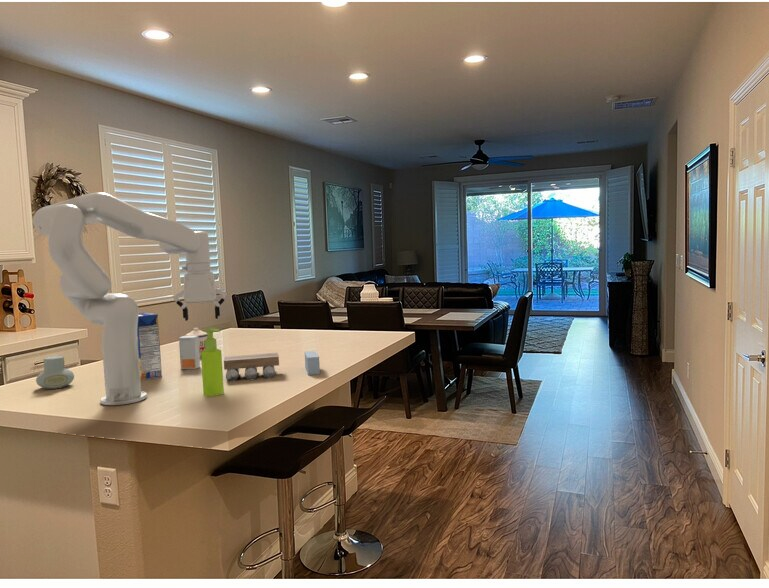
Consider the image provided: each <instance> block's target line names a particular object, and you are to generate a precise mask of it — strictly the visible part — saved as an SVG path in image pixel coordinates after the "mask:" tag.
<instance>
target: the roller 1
mask: <svg viewBox="0 0 769 588" xmlns="http://www.w3.org/2000/svg"><path fill="white" fill-rule="evenodd" d="M239 374H240V369H228V370H226V373H225V379H226V380H227V381H228V382H230V381H231V382H235V381H237V380H238V378H239Z"/></svg>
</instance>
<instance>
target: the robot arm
mask: <svg viewBox="0 0 769 588" xmlns="http://www.w3.org/2000/svg"><path fill="white" fill-rule="evenodd" d="M95 223H96V224H97V223H99V224H102V225H104V226H106V227H109V228H111V229H114V230H116V231H118V232H121V233H122V234H125V235H126V236H129V237H132V238H136V239H140V240H149V241H155V242H158V246H159V248H160V249H161V251H163V252H164V253H165V254H169V255H182V254H183V255H185V261H186V264H185V265H181V269H182V270H183V271H186V273H184V276H183V290H182V291H180V292H178V293H176V294H174V295H173V296H172V299H173V300H174V301H175V303H176V305H178V306H179V307H180V308H181V309H182V318H183V319H184V321H188V320H189V309H188V305H189V304H196V303H199V304H200V303H212V304H214V317H215V319H216V320H217V319H219V317H220V316H221V312H220V311H221V309H220V306H221V305H222V304H223V303H224V302H225V300H226V298H227V297H228V293H227V292H226V291H224V290H221V289H218V288H216V281H215V276H214V272H213V271H211V257H210V256H211V255H210V242H209V241H210V240H209V239H210V238H209V233H208V232H206V231H204V230H203V231H201V230H197V231H196V230H195V231H194V229H192V228H190V227H187V225H184V224H182V223H180V222H177V221H175V220H172V219H170V218H166V217H163V216H160V215H156V214H154V213H151V212H148V211H144V210H142V209H140V208H138V207H135V206H134V205H132V204H129V203H127V202H126V201H123V200H121V199H119V198H117V197H115V196H113V195H111V194H109V193H106V192H99V191H98V192H92V193H87V194H82V195H78V196H75V197H72V198H70V199H67V200H64V201H60V202H59V201H58V202H57V203H56V202H55V203H53V204H50V205H49V204H48V205H46V206H43V207H41V208H39V209H37V210H36V212H35V213H34V215H33V217H32V224H33V227H34V228H35V230H36V231H37V233H39V234H40V235H43V237H44V236H45V237H47V238H48V241H47V242H48V247H47V248H48V252H49V256H50V258H51V260H52V261H53V263H54V265H56V267H57V268H58V269H59V270H60V272H61V274H60V276H59V286H60V290H61V292H62V294H63V295H64V296H65V298H67V299H68V300H69V302H70V303H71V304H72V305H73V306H74V307H75V308H76V310H78V311H79V312H80V313H81V314H82V316H84V318H86V319H87V320H88V321H89V322H91V323H93V324H95V325H98V326H103V331H102V335H101V350H102V364H103V374H104V376H103V377H104V386H105V387H104V388H105V396H102V397H101V398H100V401H99V402H100V404H101V405H104V406H121V405H128V404H135V403H137V402H141V401H143V400H145V399H146V398H148V393H147V392H146V391H144V390H142V385H141V379H140V368H139V354H138V341H137V325H138V317H139V313H140V311H139V305H138V303H137V302H136V301H135V299H134V298H133V297H131V296H129V295H128V294H124V293H110V291H111V289H112V281H111V277H110V276H109V274H107V272H106V271H105V269H104V268H103V267H102V266H101V265H100V264H99V263H98V262H97V260H95V258H94V257H93V256H92V255H91V254H90V253H89V251H88V250H87V249H86V246H85V245H84V241H83V232H84V229H85V226H87V225H91V224H95ZM217 294H219V295H220V296H221V298H220V300H217ZM182 296H183V300H184V303H183V302H182V301H181V300H180V299H179V298H180V297H182Z"/></svg>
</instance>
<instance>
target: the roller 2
mask: <svg viewBox="0 0 769 588" xmlns="http://www.w3.org/2000/svg"><path fill="white" fill-rule="evenodd" d="M262 375H263V377H264V378H265V379H272V378H274V377H275V375H276V370H275V366H265V367H262Z"/></svg>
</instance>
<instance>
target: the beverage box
mask: <svg viewBox="0 0 769 588" xmlns="http://www.w3.org/2000/svg"><path fill="white" fill-rule="evenodd" d="M137 341H138V354H139V368H140V380H141V379H144V380H147V379H148V378H149V379H154V378H160V377H163V373H162V359H161V346H160V345H161V343H160V341H161V340H160V328H159V315H158V313H150V312H139V317H138V325H137ZM149 379H148V380H149Z"/></svg>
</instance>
